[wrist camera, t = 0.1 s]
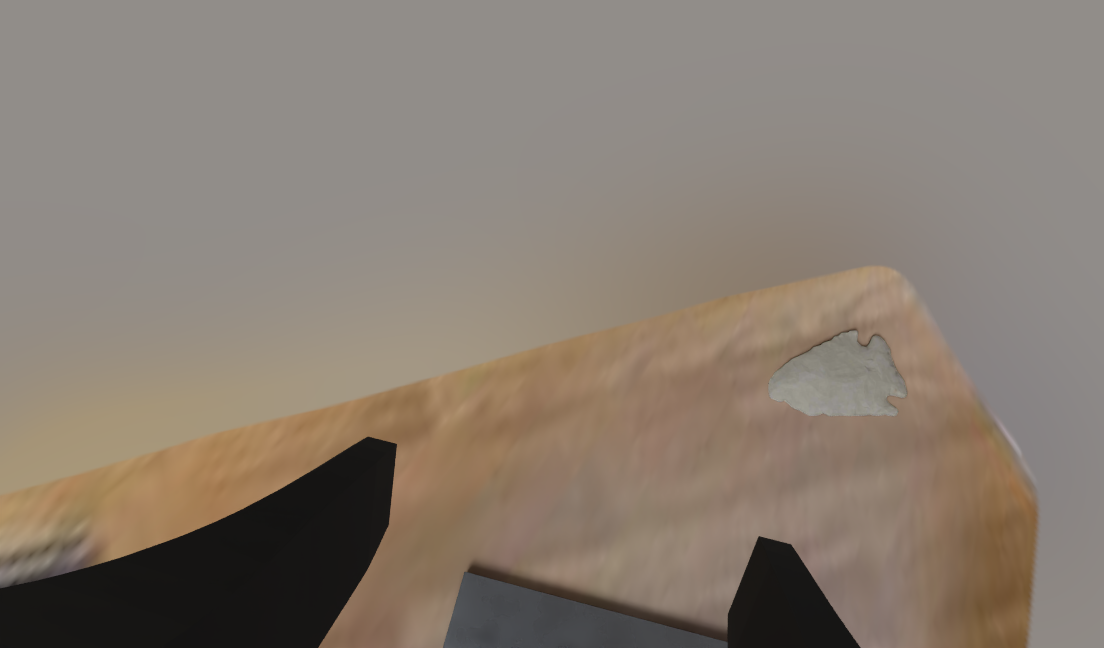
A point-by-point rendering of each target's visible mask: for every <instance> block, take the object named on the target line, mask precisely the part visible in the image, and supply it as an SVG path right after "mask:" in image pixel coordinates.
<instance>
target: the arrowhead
mask: <svg viewBox="0 0 1104 648" xmlns="http://www.w3.org/2000/svg"><path fill="white" fill-rule="evenodd" d="M857 337H858V332H857V330H853V331H849V332H847V333H841V334H840V335H839V336H834V338H833V339H832V340H830V341H827V342H824V343H822V344H821V345H820V346H816V347H813V348H812V349H811V350H810V351H809V352H806V353H804V354H802V355H800V356H797V357H795V358H793V359H791V360H790V361H789V362H788V363H786V364H784V366H783V367H782V368H780V369H779V370H777V371H776V372H775V373H774V375H773V377H772V378H770V382H769V383H768V384H769V388H768V391H769V396H770V398H772V399H774V400H776V401H778V402H782V401H785V402H786V403H788V404H789V405H790V407H792V408H794V409H796V410H799V411H802V412H803V413H804V414H807V415H809V416H817V415H820V414H822V413H823V414H826V415H828V416H865V415H873V416H881V415H888V416H896V415H897V413H898V410H897V409H896V408H895V407H894V406H892V405H891V404H890V403H888V401H887V396H889V395H890V396H897V397H901V398H904V397H906V396H907V390H906V386H905V383H904V380H903V379H902V377H901V376H900V374H899V373H898V372H897V369H896V367H895V366H894V363H893V361H892V358H891V352H890V349H889V347H888V345H887V344H886V342H885V341H884V340H883V339H882V338H881V337H880V336H875V335H874V336H873V337H872V339H871V341H870V343H869V345H868V346H867V347H865V346H861V345H860V344H859V343H858V341H857ZM864 392H865V393H864ZM816 412H817V413H816Z"/></svg>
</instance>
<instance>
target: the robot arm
mask: <svg viewBox="0 0 1104 648" xmlns="http://www.w3.org/2000/svg"><path fill="white" fill-rule="evenodd" d="M396 448H397V444H395V443H391V442H387V441H383V440H379V439H375V438H371V437H366V438H365V439H363V440H361V441H360V442H358V443H356V444H354V445H353V446H351V447H349V448H348V449H346V450H345V451H343V452H341V453H340V454H338V455H337V456H335V457H333V458H332V459H330V460H329V461H327V462H325V463H324V464H322V465H320V466H319V467H317V468H315V469H314V470H312V471H311V472H309V473H307V474H305V475H304V476H302V477H300V478H299V479H297V480H295V481H293V482H292V483H290V484H288V485H287V486H285V487H283V488H281V489H280V490H278V491H276V492H274V493H272V494H270V495H268V496H267V497H265V498H263V499H261V500H259V501H257V502H255V503H253V504H251V505H249V506H248V507H246V508H244V509H242V510H240V511H238V512H236V513H234V514H231V515H229V516H227V517H225V518H223V519H221V520H218V521H216V522H214V523H212V524H209V525H207V526H204V527H202V528H200V529H197V530H195V531H193V532H190V533H188V534H185V535H183V536H180V537H178V538H175V539H172V540H169V541H167V542H164V543H161V544H158V545H155V546H152V547H150V548H147V549H144V550H141V551H138V552H136V553H133V554H130V555H127V556H124V557H121V558H118V559H115V560H111V561H108V562H105V563H101V564H98V565H94V566H91V567H88V568H84V569H80V570H77V571H73V572H69V573H65V574H62V575H58V576H54V577H50V578H46V579H42V580H38V581H33V582H28V583H24V584H19V585H14V586H10V587H5V588H1V589H0V648H318V647H319V645H320V644H321V642H322V641H323V639H324V638H325V636H326V634H327V633H328V631H329V630H330V628H331V627H332V625H333V623H334V622H335V620H336V619H337V617H338V616H339V614H340V612H341V611H342V609H343V608H344V606H345V605H346V603H347V601H348V600H349V598H350V597H351V595H352V593H353V592H354V590H355V589H356V587H357V586H358V584H359V582H360V581H361V579H362V578H363V576H364V574H365V573H366V571H367V569H368V567H369V565H370V563H371V561H372V559H373V557H374V555H375V553H376V551H377V549H378V547H379V545H380V542H381V540H382V538H383V536H384V534H385V532H386V529H387V527H388V525H389V517H390V507H391V497H392V487H393V477H394V467H395V458H396ZM728 648H860V646H859V645H858V644H857V642H856V641H855V639H854V638H853V637H852V635H851V634H850V632H849V631H848V630H847V628H846V627H845V625H844V624H843V622H842V621H841V619H840V618H839V616H838V615H837V614H836V612H835V611H834V609H833V608H832V606H831V605H830V603H829V602H828V600H827V599H826V597H825V596H824V594H823V592H822V591H821V589H820V588H819V586H818V585H817V583H816V582H815V580H814V579H813V577H812V576H811V574H810V572H809V571H808V569H807V568H806V566H805V565H804V563H803V562H802V560H801V559H800V557H799V556H798V554H797V552H796V551H795V550H794V548H793V547H792V545H791V544H787V543H783V542H779V541H776V540H772V539H768V538H764V537H760V536H759V537H758V540H757V542H756V545H755V547H754V550H753V552H752V555H751V557H750V560H749V562H748V565H747V567H746V570H745V572H744V575H743V578H742V580H741V583H740V585H739V588H738V590H737V593H736V595H735V598H734V600H733V603H732V605H731V608H730V610H729V613H728Z"/></svg>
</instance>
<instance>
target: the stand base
mask: <svg viewBox="0 0 1104 648" xmlns="http://www.w3.org/2000/svg"><path fill="white" fill-rule="evenodd" d="M443 648H728V642H725V641H721V640H718V639H714V638H710V637H706V636H703V635H699V634H695V633H692V632H688V631H684V630H680V629H677V628H673V627H669V626H665V625H662V624H658V623H654V622H651V621H647V620H643V619H639V618H636V617H632V616H628V615H624V614H621V613H617V612H613V611H609V610H606V609H602V608H598V607H595V606H591V605H587V604H583V603H580V602H576V601H572V600H568V599H565V598H561V597H557V596H554V595H550V594H546V593H542V592H539V591H535V590H531V589H527V588H524V587H520V586H516V585H513V584H509V583H505V582H501V581H498V580H494V579H490V578H486V577H483V576H479V575H475V574H472V573H468V572H464V576H463V579H462V583H461V586H460V590H459V593H458V597H457V600H456V604H455V607H454V611H453V614H452V618H451V621H450V625H449V628H448V632H447V635H446V639H445V642H444V646H443Z"/></svg>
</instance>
